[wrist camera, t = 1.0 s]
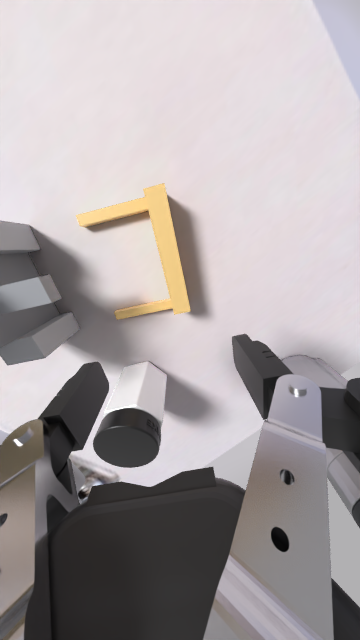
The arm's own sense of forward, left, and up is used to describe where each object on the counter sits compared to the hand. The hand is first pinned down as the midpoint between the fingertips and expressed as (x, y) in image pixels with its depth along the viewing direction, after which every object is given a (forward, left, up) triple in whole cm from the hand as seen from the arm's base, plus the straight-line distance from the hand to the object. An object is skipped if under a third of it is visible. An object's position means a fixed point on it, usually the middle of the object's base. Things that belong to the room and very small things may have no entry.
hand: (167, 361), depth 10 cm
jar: (+9, +15, -17) cm, 24 cm away
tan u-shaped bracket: (+4, -5, -17) cm, 18 cm away
